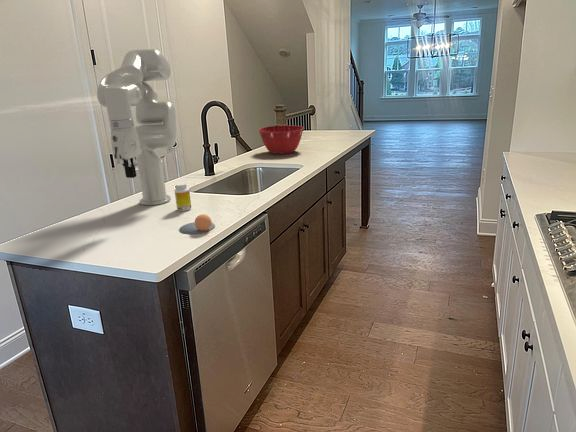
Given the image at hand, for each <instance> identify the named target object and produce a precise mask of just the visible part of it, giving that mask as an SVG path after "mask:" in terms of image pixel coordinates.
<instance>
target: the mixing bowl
mask: <svg viewBox="0 0 576 432" xmlns="http://www.w3.org/2000/svg"><path fill="white" fill-rule="evenodd" d="M258 132H259V135H260V138H261V140H262V142H263V145H264V147H265V148H266V151H268V152H269V153H271V154H273V155H288V154H292V153H294V151H296V150H297V148H298V147H299V145H300V142H301V140H302V136H303V132H304V126H301V125H292V124H291V125H271V126H265V127H261V128H260V127H259V129H258Z"/></svg>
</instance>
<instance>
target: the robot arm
mask: <svg viewBox="0 0 576 432" xmlns="http://www.w3.org/2000/svg"><path fill="white" fill-rule="evenodd" d="M171 73H172V72H171V66H170V63H169V61H168V60H167V59H166V57H165V55H164V54H163V53H162V52H161V51H159V50H157V49H155V48H147V49H132V50H129V51H128V52H126V54H125V56H124V59H123V60H122V63H121V66H119V68H117V69H114V70H113V71H111V72H110V73H107V74H106V75H104V76H103V77H102V78H101V80H100V82H99V84H98V87H97V90H96V97H97V98H96V99H97V101H98V103H99V104H100V105H101V106H102V107H104V108H106V111H107V117H108V121H109V127H110V142H111V151H112V155H113V158H114V159H115V160H116V164H119V165H122V167H123V168H124V173H125V177H126V179H129V178H131V179H133V178H135V177H137V172H136V171H138V175H139V181H140V187H141V193H142V194H141V195H142V198H140V199H139V204H140V205H143V206H156V205H162V204H165V203H168V202H169V201H171V199H172V198H171V196H170V195H167V191H166V184H165V177H164V171H163V169H164V168H163V162H162V158H161V156H160V155H159V153H157V152H156V150H157V149H158V150H159V149H170V148H173V147H174V146H175V145H176V141H177V114H176V108H175V106H174V104H173V103H172V102H170V101H166V100H165V101H162V100H161V101H158V93H157V91H156V90H155V89H154V88H153V87H152V86H151V85H150V84H149V83H147V82H155V81H166V80H169V78H170V77H171ZM132 107H135V119H136V122H137V124H138V125H137V126H135V124H134V123H135V122H134V117H133V113H132ZM136 162H137V163H136ZM136 164H137V169H138V170H136Z"/></svg>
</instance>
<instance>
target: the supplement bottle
mask: <svg viewBox="0 0 576 432" xmlns="http://www.w3.org/2000/svg"><path fill="white" fill-rule="evenodd" d="M190 192H191V191H190V188H188V186H187V183H186V182H179V183H176V184H175V189H174V196H175V203H176V205H175V206H176V210H178V211H179V212H186V211H190V210H191V209H192V202H191V195H190Z"/></svg>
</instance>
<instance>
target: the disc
mask: <svg viewBox="0 0 576 432" xmlns="http://www.w3.org/2000/svg"><path fill="white" fill-rule="evenodd" d="M215 227H216V225H215V223H213V222H212V224H211V227H210V228H209V229H208V230H206V231H200V230H198V229H197V228H196V226H195V221H194V222H189V223H186V224H183V225H182V226H180V228H179V229H178V230H179V232H180V233H181V234H185V235H196V234H197V235H198V234H204V233H208V232H209V231H212V230H214V229H215Z"/></svg>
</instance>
